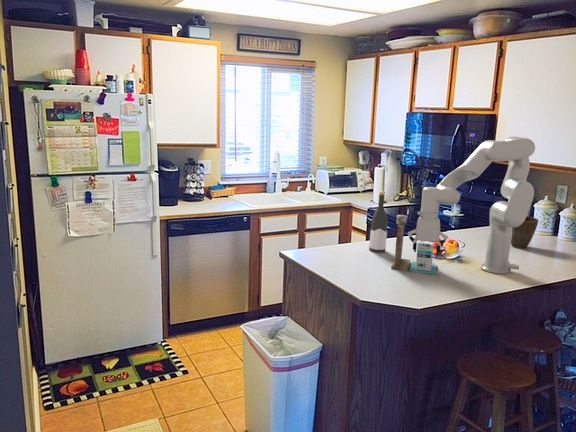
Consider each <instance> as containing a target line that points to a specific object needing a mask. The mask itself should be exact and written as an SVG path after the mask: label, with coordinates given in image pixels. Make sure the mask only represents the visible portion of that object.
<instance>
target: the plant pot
mask: <svg viewBox="0 0 576 432" xmlns="http://www.w3.org/2000/svg"><path fill="white" fill-rule="evenodd" d="M539 222H540V221H539V219H538V218H537V217H533V216H528V215H527V216H526V219H525V220H524V222H523V223H522V224H521V225H520V226H518V227H512V238H511V245H510V246H511V247H512V246H513V248H515V249H519V248H522V249H521V250H523V249H524V248H525V249H527V247H529V245H530V243H531V241H532V239H533V237H534V235H535V232H536V230H537V228H538V224H539Z"/></svg>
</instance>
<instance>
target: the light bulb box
mask: <svg viewBox="0 0 576 432" xmlns="http://www.w3.org/2000/svg"><path fill="white" fill-rule="evenodd" d="M433 257H434V242H430V241H421V240H418V241H417V247H416V261H415V262H416V269H418V270H426V271H431V268H432V264H433Z"/></svg>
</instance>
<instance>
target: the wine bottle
mask: <svg viewBox="0 0 576 432" xmlns="http://www.w3.org/2000/svg"><path fill="white" fill-rule="evenodd" d="M384 202H385V191H382V190H381V191H379V194H378V205H377V206H378V207H377V208H376V210H375V211H374V213H373V215H372V217H371V221H370V232H369V233H370V234H369V236H370V237H369V245H368V250H369V251H370V252H372V253H379V254H380V253H384V252H386V247H387V237H388V224H389V219H388V215H387V212H386V210H385V208H384Z"/></svg>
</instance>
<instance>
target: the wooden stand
mask: <svg viewBox="0 0 576 432" xmlns="http://www.w3.org/2000/svg"><path fill="white" fill-rule="evenodd" d="M407 219H408V216H407V215H406V214H405V215H404V214H397V215H396V223H395V224H396V225H397V229H396V237H395V238H396V241H395V249H394V251H395V252H394V253H395V254H394V259H393V262H392V263H391V267H390V268H391V269H393V270H398V271H405V272H407V271H409V270H408V269H409V266H410V265H411V259H407V258H402V255H403V254H402V253H403V246H404V245H403V244H404V233H405V232H404V231H405V226H406V225H407V223H408V221H407Z"/></svg>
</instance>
